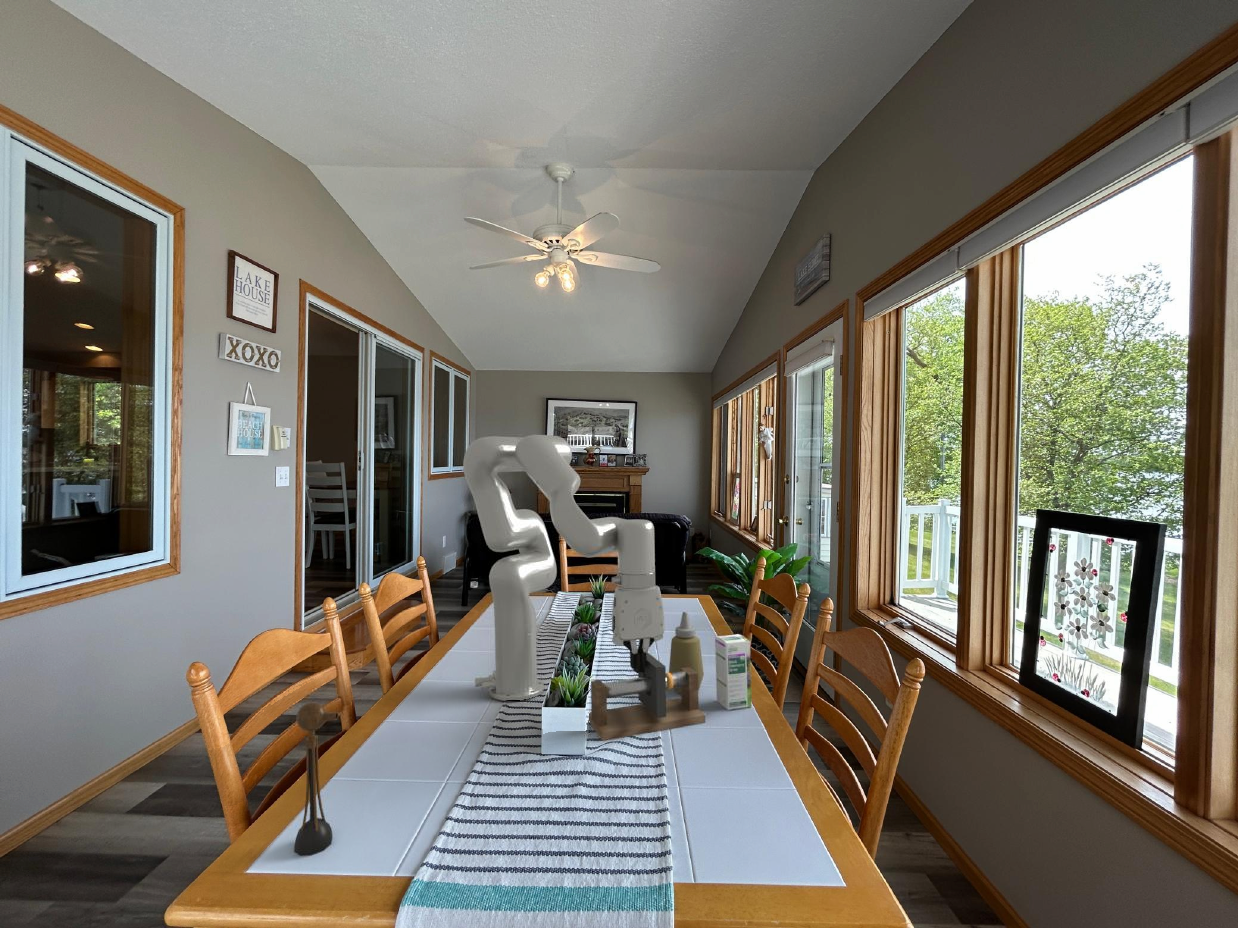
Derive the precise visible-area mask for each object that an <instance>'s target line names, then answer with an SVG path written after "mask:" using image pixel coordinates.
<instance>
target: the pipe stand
mask: <svg viewBox="0 0 1238 928" xmlns="http://www.w3.org/2000/svg"><path fill="white" fill-rule="evenodd" d="M678 687H681V693H680V694H681V695H680V697H674V698H670V699H666V717H662V718H656V717H655V716H654V715H653V714H652V713H651V712H650V711H649V710H648V709H647V708H646V707H645V706H644V705H643V704H642V703H639V704H632V705H626V706H622V707H620V706H619V707H615V708H608V702H607V701H608V699H612V698H619V697H625V696H631V695H639V693H646V692H651V678H650V677H649V676H647V677H640V678H638V677H635V678H628V679H621V680H614V681H608V682H603V681H602V680H601V679H600V680H599V679H598V680H597V679H596V680H592V681H590V701H591V703H590V704H591V707H590V708H591V710H590V711H591V712H590V713H589V712H588V713H589V721H590V723H589V725H591V727H592V728H593V730H594V731H595V733H596V735H597V736H598V737H599V738H600V740H601V741H602V742H604V741H609V740H610V741H611V740H615V739H621V738H627V737H632V736H637V735H643V734H648V733H653V732H659V731H665V730H670V729H671V730H672V729H677V728H682V727H687V726H693V725H698V724H703V723H704V724H705V723H706V714H705V713H704V712H702V711H701V710H700V709H699V691H698V673H697V672H696V671H694V670H693V669H691V668H690V667H687V668H681V672H674V673H669V672H666V691H668V690H672V689H674V688H678ZM589 721H588V722H589Z"/></svg>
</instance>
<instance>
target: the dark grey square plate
mask: <svg viewBox="0 0 1238 928" xmlns="http://www.w3.org/2000/svg"><path fill="white" fill-rule="evenodd" d="M646 659H647V665H646V666H645V672H643V673H642V672H640V673H637V678H640V677H647V676H649V677H650V678H651V692H646V693H639V694H638V701H640V704H643V705H644V706H645V707H646V708H647V709H648V710H649V711H650V712H651V713H652V714H653V715H654V716H655V717H656V718H662V717H666V700H667V690H666V673H667V672H666V665H665V664H663V663H662V662H661V661H660V660H658V659H657V658H655V657H654V656H653V655H652V654H650V653H649V651H648V652H646Z"/></svg>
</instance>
